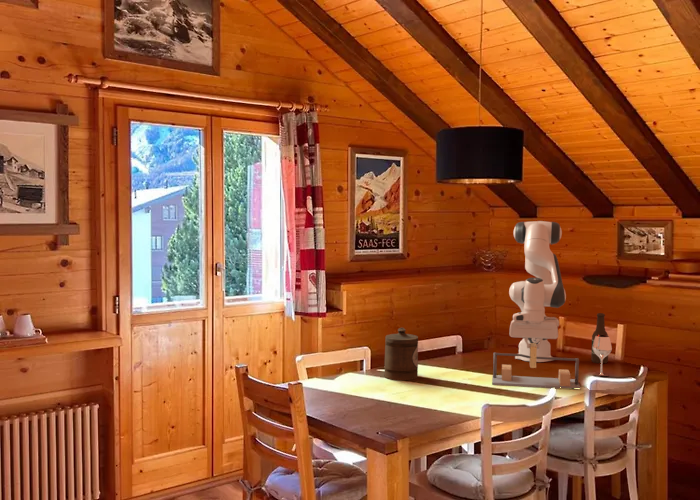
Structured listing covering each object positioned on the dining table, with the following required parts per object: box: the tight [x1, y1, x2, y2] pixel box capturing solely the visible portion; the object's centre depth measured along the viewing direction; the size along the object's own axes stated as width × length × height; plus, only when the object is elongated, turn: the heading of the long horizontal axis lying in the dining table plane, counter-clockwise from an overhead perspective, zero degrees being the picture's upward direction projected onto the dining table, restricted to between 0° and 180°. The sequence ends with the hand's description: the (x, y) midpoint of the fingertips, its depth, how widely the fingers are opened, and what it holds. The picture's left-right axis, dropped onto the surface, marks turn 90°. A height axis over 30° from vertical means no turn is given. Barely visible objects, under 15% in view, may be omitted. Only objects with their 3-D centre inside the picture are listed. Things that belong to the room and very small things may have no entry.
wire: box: [496, 352, 576, 362], centre depth 306 cm, size 5×34×1 cm, turn 78°
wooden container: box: [384, 327, 419, 381], centre depth 317 cm, size 15×15×22 cm
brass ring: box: [529, 343, 537, 369], centre depth 304 cm, size 8×2×9 cm, turn 168°
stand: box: [491, 352, 581, 389], centre depth 306 cm, size 14×36×12 cm, turn 78°
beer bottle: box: [590, 312, 609, 364], centre depth 347 cm, size 8×8×24 cm
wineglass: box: [591, 335, 613, 375], centre depth 320 cm, size 8×8×18 cm
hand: (533, 348), depth 304 cm, fingers closed on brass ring, 2 cm apart
